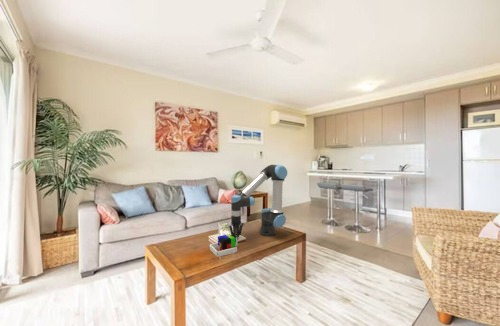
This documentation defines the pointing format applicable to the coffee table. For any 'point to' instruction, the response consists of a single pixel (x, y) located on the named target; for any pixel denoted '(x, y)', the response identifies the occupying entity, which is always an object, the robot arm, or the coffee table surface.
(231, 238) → the puzzle toy
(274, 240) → the coffee table surface
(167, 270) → the coffee table surface
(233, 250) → the tray
